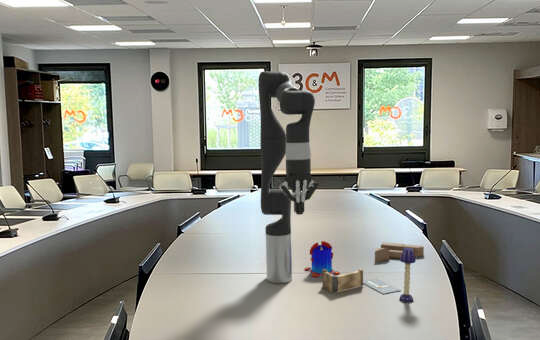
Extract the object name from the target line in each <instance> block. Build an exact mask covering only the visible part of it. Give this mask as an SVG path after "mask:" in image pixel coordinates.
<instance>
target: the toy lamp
mask: <svg viewBox="0 0 540 340" xmlns="http://www.w3.org/2000/svg"><path fill="white" fill-rule="evenodd" d="M399 260H400V262H401V263H404V281H403V289H404V290H403V293H402V294H401V295H400V296H399V301H401V302H404V303H412V302H414V297H413V296H412V295H411V294H410V284H411V282H410V280H411V277H410V276H411V264H414V263H416V257H415V255H414V251H413V249H412V248H404V249H403V252H402V255H401V258H400V259H399Z"/></svg>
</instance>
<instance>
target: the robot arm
mask: <svg viewBox="0 0 540 340" xmlns="http://www.w3.org/2000/svg"><path fill="white" fill-rule="evenodd" d="M257 83H258V84H257V85H258V86H257V87H258V96H259V97H258V100H259V110H260V111H259V112H260V133H259V135H260V137H259V138H260V140H259V141H260V163H261V165H260V166H261V167H260V168H261V180H260V181H261V182H260V183H261V184H260V210H261V211H260V212H261V213H262V214H263V215H264V216H265V215H267V216H268V215H269V216H270V215H271V216H278V215H280V216H281V217H280V218H279V219H278V220H277V221H273V222H271V223H269V224H267V225H266V226H265V252H266V253H265V254H266V262H265V263H266V281H267V282H269V283H272V284H284V283H285V284H286V283H290V282H291V281H292V280H293V261H292V260H293V257H292V252H293V251H292V226H291V225H292V224H291V222H292V221H291V218H292V216H291V214H292V213H291V212H292V202H293V211H294V213H295V214H296V215H297V216H298V215H304V213H305V202H306V201H308V200H310V199H311V197H312V196H313V194H314V193H315V192H316V190H317V188H318V187H319V183H318V182H317V181H316V182H315V181H314V180H313V177H312V174H311V171H312V168H311V167H312V166H311V165H312V163H311V162H312V160H311V157H312V153H311V146H310V125H311V120H312V116H313V112H314V108H315V105H316V104H315V103H316V101H315V100H316V99H315V96H314V94H313V93H312V91H310V90H300V89H299V88H297V87H296V86H295V85H294V83H293V81H292V79H291V77H290V75H289V74H288V73H286V72H284V71H268V70H267V71H260V73H259V75H258V81H257ZM270 98H276V99H277V101H278V102H279V103H278V105H279V110H280V111H281V113H282V114H284V115H288V116H293V115H294V116H295V115H301V117H300V119H299V120H298V121H295V122H290V123H287V124H286V126H285V129H284V127H283V126H282V124H281V123H280V121H279V120H278V117H276V115H275V113H274V112H273V109H272V106H271V102H270ZM284 158H285V173H286V174H285V175H286V176H285V178H284V182H282V183H281V184H279V185H278V188H271V182H272V180H273V177H274V175H275V174H276V171H277V170H278V167H279V166H280V165H281V163H282V161H283V159H284ZM289 189H290V190H291V192H290V190H289Z"/></svg>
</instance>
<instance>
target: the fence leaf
mask: <svg viewBox="0 0 540 340" xmlns="http://www.w3.org/2000/svg"><path fill="white" fill-rule="evenodd" d="M363 280H364V269H358V270H356V271H351V272H348V273H343V274H339V275H334V276H332V286H333V292H332V293H338V292H342V291H347V290H350V289H355V288H359V287H362V286H364V284H363Z"/></svg>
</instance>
